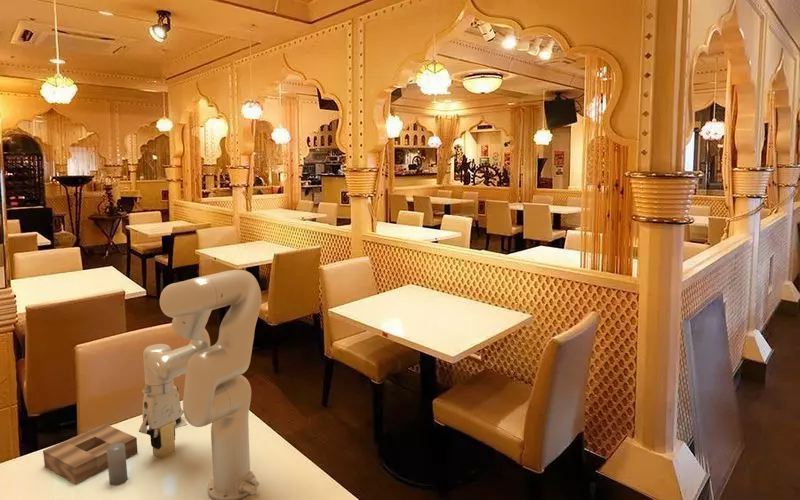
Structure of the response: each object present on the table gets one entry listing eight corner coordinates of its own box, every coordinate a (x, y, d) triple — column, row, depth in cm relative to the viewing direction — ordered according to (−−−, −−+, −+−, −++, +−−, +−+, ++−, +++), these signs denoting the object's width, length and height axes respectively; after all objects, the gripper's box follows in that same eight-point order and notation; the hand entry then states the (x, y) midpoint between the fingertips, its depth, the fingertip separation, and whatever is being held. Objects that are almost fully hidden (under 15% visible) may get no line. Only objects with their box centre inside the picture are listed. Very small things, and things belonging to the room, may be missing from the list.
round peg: (131, 478, 144) (128, 445, 142) (115, 487, 140) (112, 453, 139) (121, 473, 146) (118, 441, 145) (106, 482, 143) (103, 448, 141)
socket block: (137, 452, 157) (136, 437, 156) (76, 484, 141) (74, 467, 140) (106, 438, 165) (105, 423, 164) (44, 466, 149) (42, 450, 148)
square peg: (175, 451, 158) (173, 421, 156) (162, 459, 154) (160, 427, 152) (166, 447, 160) (164, 417, 158) (153, 454, 156) (150, 423, 154)
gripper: (141, 400, 144) (145, 461, 147) (192, 379, 158) (195, 434, 162) (124, 394, 148) (129, 453, 151) (176, 373, 162) (179, 428, 165)
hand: (163, 442), depth 156 cm, fingers closed on square peg, 4 cm apart
